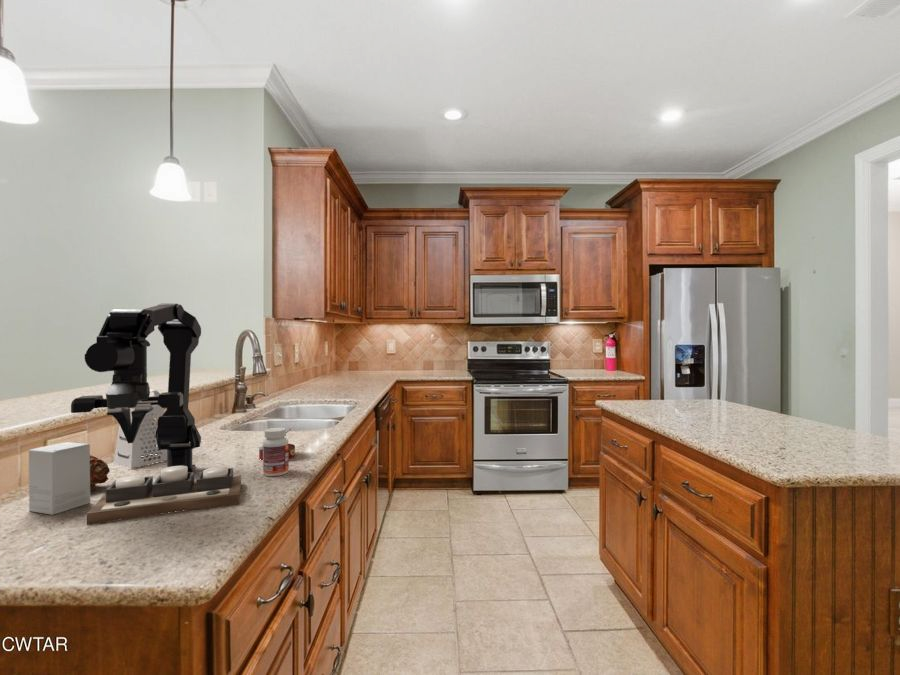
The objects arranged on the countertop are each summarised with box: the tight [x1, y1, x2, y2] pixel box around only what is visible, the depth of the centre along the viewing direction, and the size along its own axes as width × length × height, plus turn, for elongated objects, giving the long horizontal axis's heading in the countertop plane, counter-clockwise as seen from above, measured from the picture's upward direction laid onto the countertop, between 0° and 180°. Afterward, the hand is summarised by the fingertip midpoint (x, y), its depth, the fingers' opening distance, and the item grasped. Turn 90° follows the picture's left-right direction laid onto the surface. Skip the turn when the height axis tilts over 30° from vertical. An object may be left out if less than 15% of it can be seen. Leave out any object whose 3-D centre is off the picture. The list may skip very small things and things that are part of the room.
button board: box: [86, 467, 242, 525], centre depth 97 cm, size 14×26×4 cm, turn 113°
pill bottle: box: [262, 427, 289, 477], centre depth 117 cm, size 6×6×11 cm
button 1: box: [116, 474, 146, 488], centre depth 96 cm, size 5×5×2 cm
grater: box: [113, 389, 167, 469], centre depth 129 cm, size 10×10×20 cm
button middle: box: [160, 466, 188, 483], centre depth 99 cm, size 5×5×2 cm
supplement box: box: [28, 441, 91, 516], centre depth 95 cm, size 7×7×13 cm
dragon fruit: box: [90, 454, 111, 491], centre depth 105 cm, size 8×8×12 cm
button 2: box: [202, 466, 228, 479], centre depth 102 cm, size 5×5×2 cm
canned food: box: [258, 428, 296, 461], centre depth 133 cm, size 11×10×10 cm
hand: (130, 442), depth 96 cm, fingers closed
